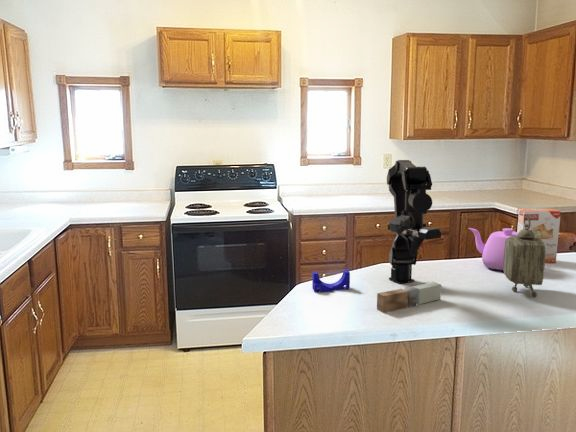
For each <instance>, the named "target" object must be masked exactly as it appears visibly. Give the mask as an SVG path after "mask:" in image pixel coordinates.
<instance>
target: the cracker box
mask: <svg viewBox="0 0 576 432" xmlns="http://www.w3.org/2000/svg"><path fill="white" fill-rule="evenodd" d="M561 214H562V211H561V210H558V209H554V208H519V209H518V218H517V227H516V229H517V231H516V232H517V233H519V232H520V231H521V230H525V227H524V217H525V216H526V215H527V216H529V218H530V228H529V229H528V230H531V231H532V232H533V233H534V235H535V237H538V238H540V239H541V240H542V241H543V242H544V245H545V264H556V263H557V255H558V254H557V253H558V244H559V234H560V225H561ZM525 224H528V226H529V221H528V219H527V217H526V219H525Z"/></svg>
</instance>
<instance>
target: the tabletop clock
mask: <svg viewBox="0 0 576 432" xmlns="http://www.w3.org/2000/svg"><path fill="white" fill-rule="evenodd" d="M526 217H527V219H528V221H529V226H528V224H525V219H526ZM524 227H525V230H521V231H520V232H519V233H518V235H517V236H511V237H509V238H507V239H506V241H505V250H504V270H503V273H504V276H505V278H506V279H507V280H508V281H510V282H511V283H513V284H514V285H513V286H512V287H511V290H512V291H513V292H517V290H518V287H517V286H518V285H523V287H525V288H528V287H529V289H530V291H531V297H533V298H537V296H538V294H537V292H535V291H534V288H533V286H542V285H543V281H544V276H545V275H544V274H545V265H546V263H545V245H544V242H543V241H542V240H541V239H540V238H538V237H535V235H534V233H533V232H532V231H531V230H528V229H529V228H530V218H529V216H527V215H526V216H525V217H524Z"/></svg>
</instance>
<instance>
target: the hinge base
mask: <svg viewBox="0 0 576 432" xmlns="http://www.w3.org/2000/svg"><path fill="white" fill-rule="evenodd" d="M417 305H418V304H417V298H415V299H408V291H406V290H404V288H399V289H393V290H388V291H382V292H377V293H376V310H377V311H379V312H381V313H387V312H389V313H390V312H393V311H398V310H399V311H400V310H402V309H407V308H415V307H417Z"/></svg>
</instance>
